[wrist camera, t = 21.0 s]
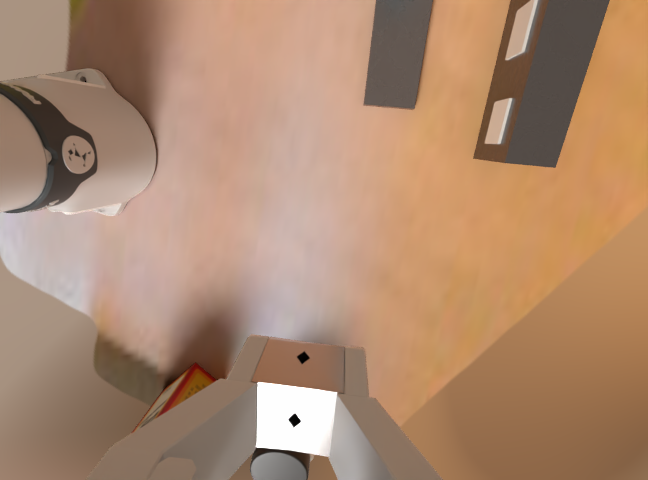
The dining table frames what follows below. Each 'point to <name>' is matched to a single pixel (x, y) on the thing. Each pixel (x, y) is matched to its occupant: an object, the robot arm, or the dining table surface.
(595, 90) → the dining table surface
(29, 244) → the dining table surface
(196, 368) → the baking soda box
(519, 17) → the block
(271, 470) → the jar
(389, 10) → the rail
